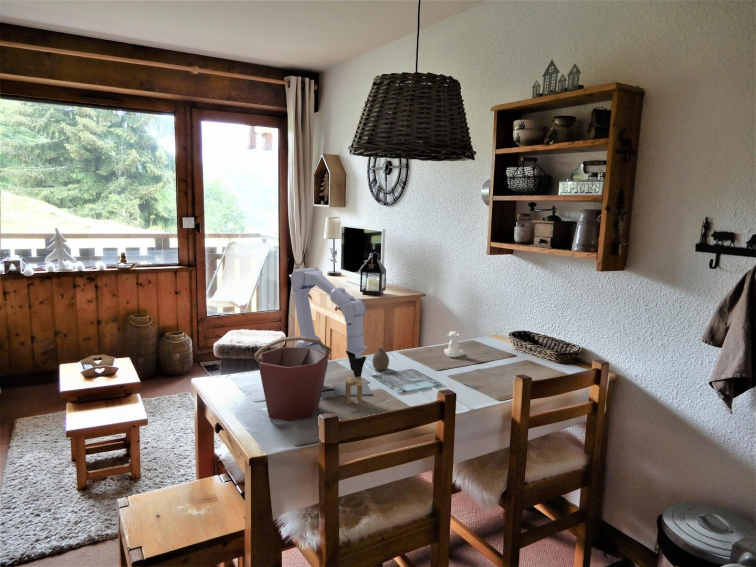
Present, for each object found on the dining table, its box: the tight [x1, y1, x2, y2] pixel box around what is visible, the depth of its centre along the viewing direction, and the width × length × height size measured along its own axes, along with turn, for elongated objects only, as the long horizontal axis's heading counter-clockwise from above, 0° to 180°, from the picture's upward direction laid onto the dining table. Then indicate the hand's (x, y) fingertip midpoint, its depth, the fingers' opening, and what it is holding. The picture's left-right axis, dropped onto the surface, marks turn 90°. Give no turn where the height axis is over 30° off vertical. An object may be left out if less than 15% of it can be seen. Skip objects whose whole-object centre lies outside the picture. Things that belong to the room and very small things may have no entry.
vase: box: [372, 348, 390, 372], centre depth 211 cm, size 7×7×9 cm
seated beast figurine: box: [443, 330, 466, 359], centre depth 233 cm, size 10×9×12 cm
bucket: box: [253, 336, 332, 423], centre depth 166 cm, size 24×22×25 cm
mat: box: [332, 382, 373, 398], centre depth 188 cm, size 13×11×1 cm
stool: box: [345, 376, 363, 406], centre depth 177 cm, size 5×5×8 cm
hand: (356, 373), depth 177 cm, fingers open, 7 cm apart
